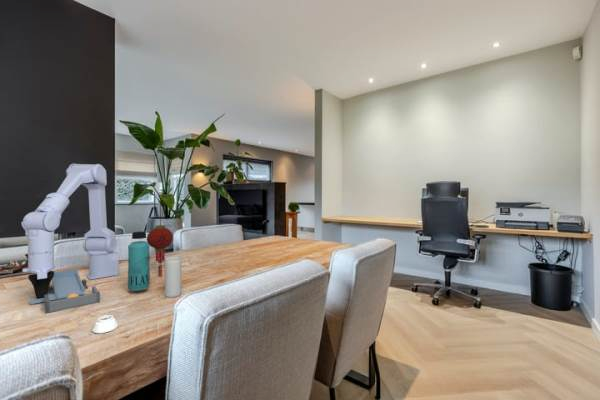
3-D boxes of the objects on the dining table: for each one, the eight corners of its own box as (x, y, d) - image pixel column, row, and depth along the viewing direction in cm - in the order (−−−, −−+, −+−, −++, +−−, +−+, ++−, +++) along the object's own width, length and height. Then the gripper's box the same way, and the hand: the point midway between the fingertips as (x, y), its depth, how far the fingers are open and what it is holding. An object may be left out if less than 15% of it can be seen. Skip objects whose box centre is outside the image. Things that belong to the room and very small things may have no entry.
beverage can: (184, 294, 91) (184, 257, 91) (173, 299, 87) (173, 260, 87) (172, 292, 93) (172, 256, 93) (161, 297, 88) (161, 259, 88)
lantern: (175, 277, 109) (175, 200, 109) (147, 281, 104) (148, 200, 103) (170, 271, 117) (171, 200, 117) (145, 275, 112) (145, 200, 111)
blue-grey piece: (77, 277, 102) (77, 269, 102) (84, 294, 89) (84, 285, 89) (29, 284, 93) (29, 275, 93) (29, 305, 81) (29, 294, 80)
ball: (79, 291, 82) (80, 302, 81) (78, 292, 84) (79, 303, 83) (66, 294, 80) (66, 305, 79) (65, 295, 82) (65, 305, 81)
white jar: (122, 326, 69) (107, 323, 70) (122, 314, 69) (107, 312, 70) (103, 336, 64) (87, 333, 66) (103, 323, 64) (87, 320, 66)
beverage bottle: (126, 296, 88) (126, 233, 88) (128, 290, 94) (128, 230, 94) (149, 293, 91) (150, 232, 91) (150, 287, 97) (150, 230, 97)
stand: (86, 285, 98) (86, 278, 98) (87, 288, 95) (87, 280, 95) (46, 292, 91) (46, 284, 91) (46, 295, 88) (46, 287, 88)
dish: (94, 294, 90) (94, 285, 90) (99, 302, 84) (99, 292, 84) (44, 304, 82) (44, 294, 82) (45, 313, 75) (45, 303, 75)
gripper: (22, 250, 86) (22, 294, 86) (21, 258, 75) (22, 308, 75) (53, 247, 90) (53, 289, 91) (56, 254, 80) (56, 301, 80)
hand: (41, 297), depth 83 cm, fingers closed, pressing on blue-grey piece
